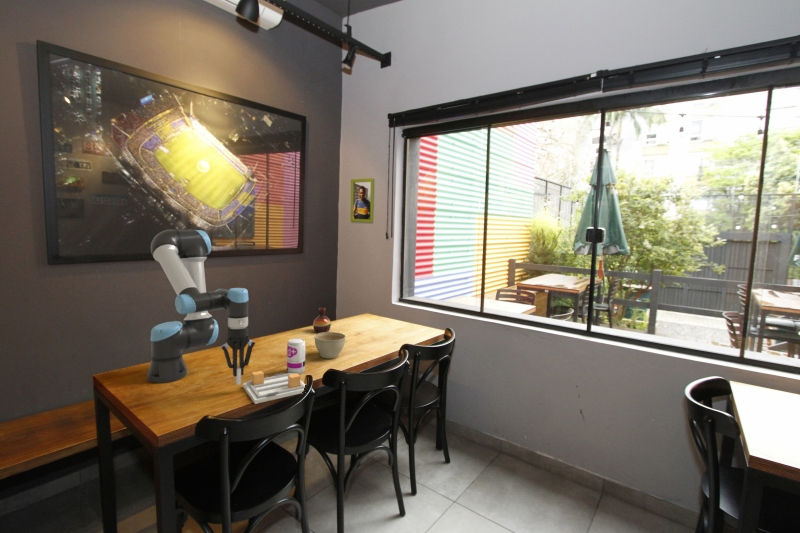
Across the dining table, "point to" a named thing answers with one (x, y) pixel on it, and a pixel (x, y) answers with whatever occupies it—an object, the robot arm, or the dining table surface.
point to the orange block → (257, 378)
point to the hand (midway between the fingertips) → (238, 383)
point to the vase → (321, 322)
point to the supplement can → (296, 356)
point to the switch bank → (272, 388)
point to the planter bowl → (329, 344)
